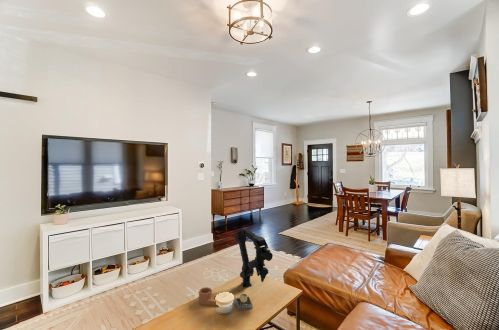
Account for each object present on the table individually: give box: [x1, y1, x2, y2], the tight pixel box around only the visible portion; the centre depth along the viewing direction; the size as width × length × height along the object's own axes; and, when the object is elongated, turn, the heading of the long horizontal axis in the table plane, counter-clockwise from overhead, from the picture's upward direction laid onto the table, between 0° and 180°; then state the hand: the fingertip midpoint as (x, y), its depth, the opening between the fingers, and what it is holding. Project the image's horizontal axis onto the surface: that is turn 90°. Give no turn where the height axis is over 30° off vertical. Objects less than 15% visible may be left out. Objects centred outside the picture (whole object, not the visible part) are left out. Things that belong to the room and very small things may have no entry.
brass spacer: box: [239, 293, 248, 306], centre depth 148 cm, size 5×5×6 cm
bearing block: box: [234, 296, 253, 312], centre depth 148 cm, size 9×9×2 cm
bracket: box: [198, 286, 217, 307], centre depth 153 cm, size 18×8×7 cm, turn 80°
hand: (260, 278), depth 160 cm, fingers open, 9 cm apart
